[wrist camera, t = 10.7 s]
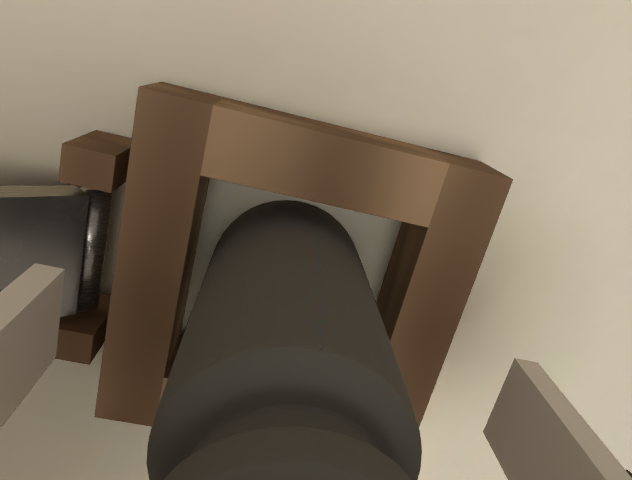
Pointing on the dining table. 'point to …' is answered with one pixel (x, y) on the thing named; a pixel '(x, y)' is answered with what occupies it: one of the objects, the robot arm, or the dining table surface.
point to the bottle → (285, 364)
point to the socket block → (280, 177)
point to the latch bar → (56, 238)
